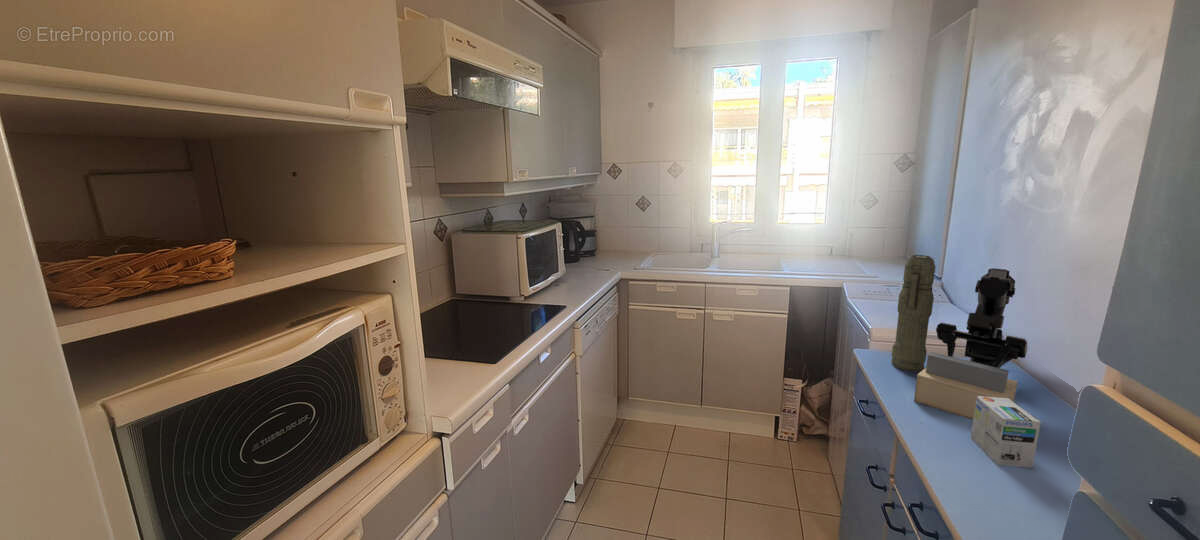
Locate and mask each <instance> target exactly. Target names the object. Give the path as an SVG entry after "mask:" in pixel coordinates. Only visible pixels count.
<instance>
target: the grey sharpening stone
mask: <svg viewBox="0 0 1200 540" xmlns="http://www.w3.org/2000/svg"><path fill="white" fill-rule="evenodd" d="M1009 372H1010V371H1009V370H1007V369H1004V368H1001V367H1000V368H996V367H992V366H988V365H984V364H980V363H976V362H971V361H970V360H966V359H963V358H959V357H954V356H953V357H950V356H948V355H947V354H946V355H945V354H942V353H937V352H933V351H931V352H930V353H928V355H927V358H926V367H924V369H923V370H922V371H919V372H918V374H917V376H916V378H917V377H920V378H923V379H927V380H931V381H934V382H938V383H941V384H945V385H948V386H952V387H956V388H959V389H963V390H966V391H970V392H974V393H977V394H981V395H984V396H988V397H997V398H1008V396H1009V395H1010V393H1011V390H1010V389H1006V385H1007V379H1009V378H1008V377H1009Z"/></svg>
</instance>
